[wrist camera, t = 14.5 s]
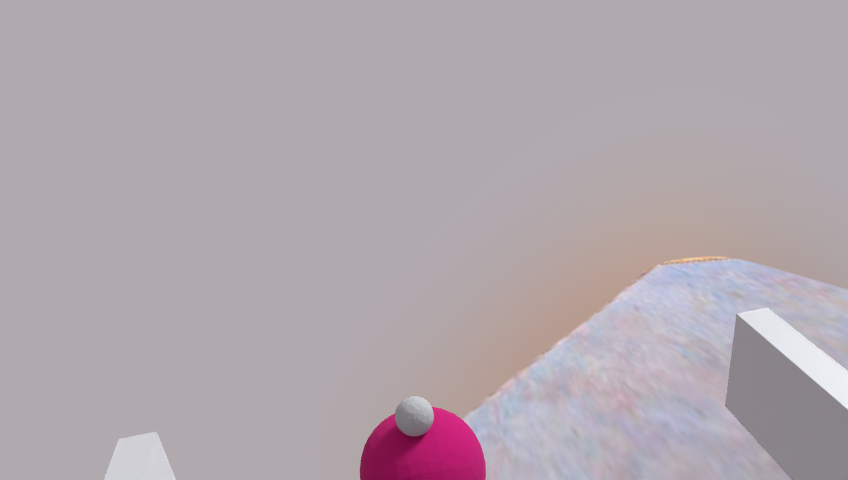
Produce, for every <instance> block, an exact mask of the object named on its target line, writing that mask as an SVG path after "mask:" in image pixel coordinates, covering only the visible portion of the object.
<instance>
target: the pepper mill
mask: <svg viewBox="0 0 848 480" xmlns="http://www.w3.org/2000/svg"><path fill="white" fill-rule="evenodd" d="M485 478H486V467H485V460H484V455H483V452H482V448H481V445H480V443H479V441H478V439H477V437H476V435H475V434H474V432H473V431H472V429H471V428H470V427H469V426H468V425H467V424H466V423H465V422H464V421H463V420H462V419H461V418H459V417H458V416H456V415H455V414H453V413H450V412H448V411H446V410H443V409H441V408H435V407H431V405H430V404H429V403H428V401H426V400H425V399H423V398H421V397H417V396H411V397H408V398H406V399H404V400H403V401H402V402H400V404H399V405H398V407H397V409H396V412H395V414H393V415H391V416H389V417H388V418H387V419H385V420H384V421H382V422H381V423H380V424H379V425H378V426H377V427H376V428H375V430H374V431H373V432H372V434H371V435H370V437H369V438H368V440H367V442H366V444H365V447H364V450H363V454H362V457H361V465H360V479H361V480H485Z"/></svg>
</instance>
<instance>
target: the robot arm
mask: <svg viewBox="0 0 848 480" xmlns="http://www.w3.org/2000/svg"><path fill="white" fill-rule="evenodd" d="M725 406H726V407H727V408H728V410H729V411H730V412H731V413H732V414H733V415H734V416H735V417H736V418H737V420H738V421H739V422H740V423H741V424H742V425H743V426H744V427H745V428H746V429H747V431H748V432H749V433H750V434H751V435H752V436H753V437H754V438H755V439H756V441H757V442H758V443H759V444H760V445H761V446H762V447H763V448H764V449H765V450H766V452H767V453H768V454H769V455H770V456H771V457H772V458H773V459H774V460H775V461H776V463H777V464H778V465H779V466H780V467H781V468H782V469H783V470H784V471H785V473H786V474H787V475H788V476H789V477H790V478H791V479H792V480H848V371H847V370H846V369H844V368H843V367H842V366H841V365H839V364H838V363H837V362H835V361H834V360H833V359H832V358H830V357H829V356H828V355H827V354H825V353H824V352H823V351H822V350H820V349H819V348H818V347H817V346H815V345H814V344H813V343H811V342H810V341H809V340H808V339H806V338H805V337H804V336H803V335H801V334H800V333H799V332H798V331H796V330H795V329H794V328H793V327H791V326H790V325H789V324H787V323H786V322H785V321H784V320H782V319H781V318H780V317H779V316H777V315H776V314H775V313H774V312H772V311H771V310H770V309H769V308H762V309H758V310H753V311H748V312H743V313H738V314H737V315H736V323H735V332H734V340H733V348H732V356H731V364H730V372H729V380H728V388H727V396H726V404H725ZM104 480H176V479H175V477H174V474H173V472H172V469H171V467H170V464H169V462H168V459H167V457H166V454H165V452H164V449H163V447H162V444H161V442H160V439H159V437H158V434H157V432H152V433H147V434H142V435H137V436H132V437H127V438H122V439H119V440H118V443H117V446H116V449H115V451H114V454H113V457H112V459H111V462H110V465H109V468H108V470H107V473H106V476H105V478H104Z"/></svg>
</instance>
